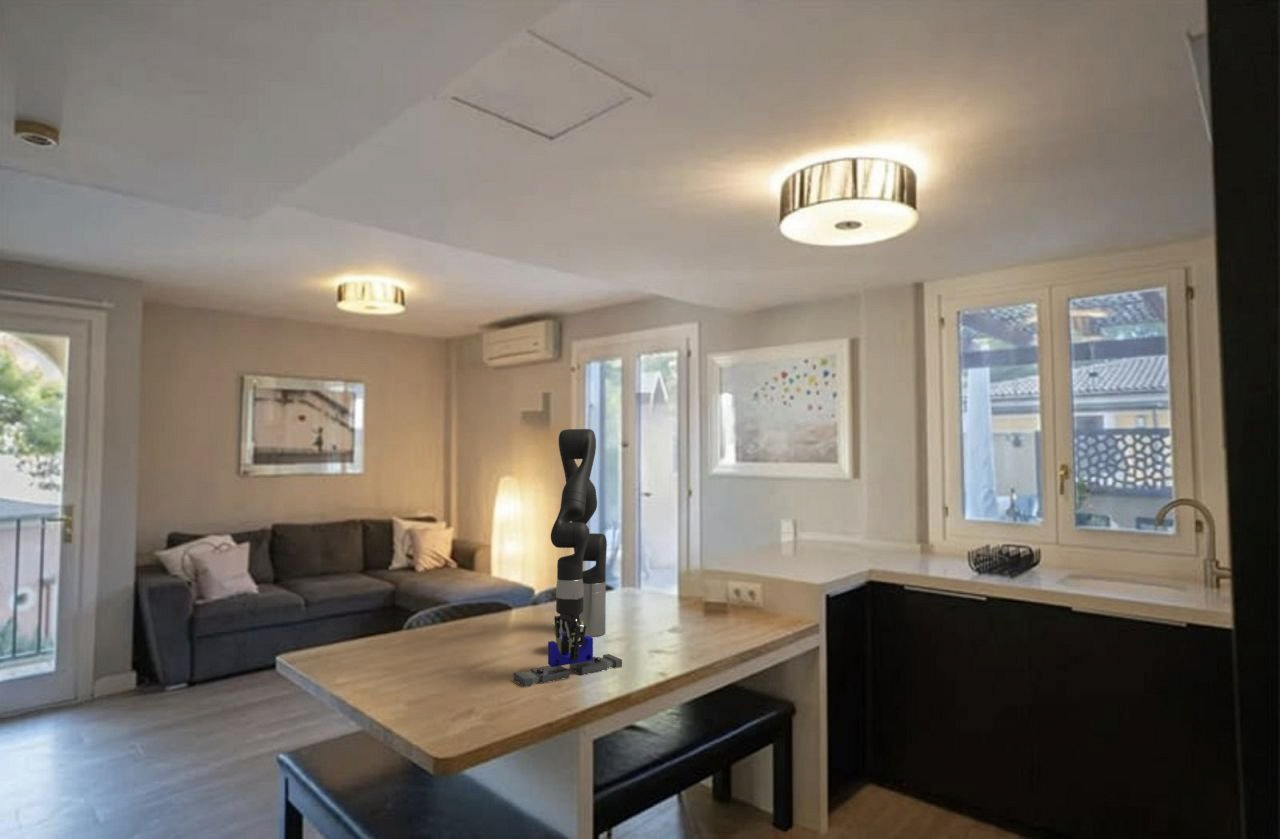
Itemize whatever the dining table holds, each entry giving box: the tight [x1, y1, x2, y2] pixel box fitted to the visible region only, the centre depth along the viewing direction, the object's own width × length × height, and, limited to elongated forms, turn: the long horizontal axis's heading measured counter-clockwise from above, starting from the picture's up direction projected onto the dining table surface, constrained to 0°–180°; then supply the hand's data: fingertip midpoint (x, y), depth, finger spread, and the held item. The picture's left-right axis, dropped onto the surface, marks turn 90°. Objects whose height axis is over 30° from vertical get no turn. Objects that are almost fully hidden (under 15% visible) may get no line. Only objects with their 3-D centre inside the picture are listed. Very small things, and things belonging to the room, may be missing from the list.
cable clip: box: [547, 636, 594, 667], centre depth 191 cm, size 12×4×6 cm, turn 119°
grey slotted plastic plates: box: [513, 653, 623, 688], centre depth 191 cm, size 7×30×3 cm, turn 125°
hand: (569, 657), depth 191 cm, fingers closed on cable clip, 4 cm apart
